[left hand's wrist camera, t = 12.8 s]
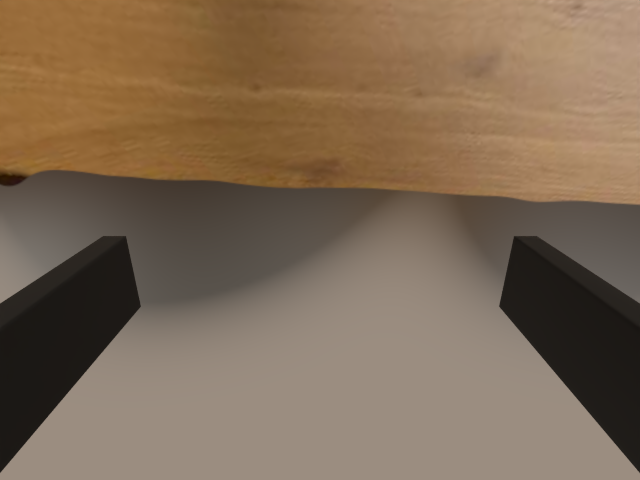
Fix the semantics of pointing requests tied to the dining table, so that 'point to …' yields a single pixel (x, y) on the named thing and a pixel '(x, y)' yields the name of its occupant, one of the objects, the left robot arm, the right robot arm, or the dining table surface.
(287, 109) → the dining table surface
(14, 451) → the left robot arm
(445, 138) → the dining table surface
